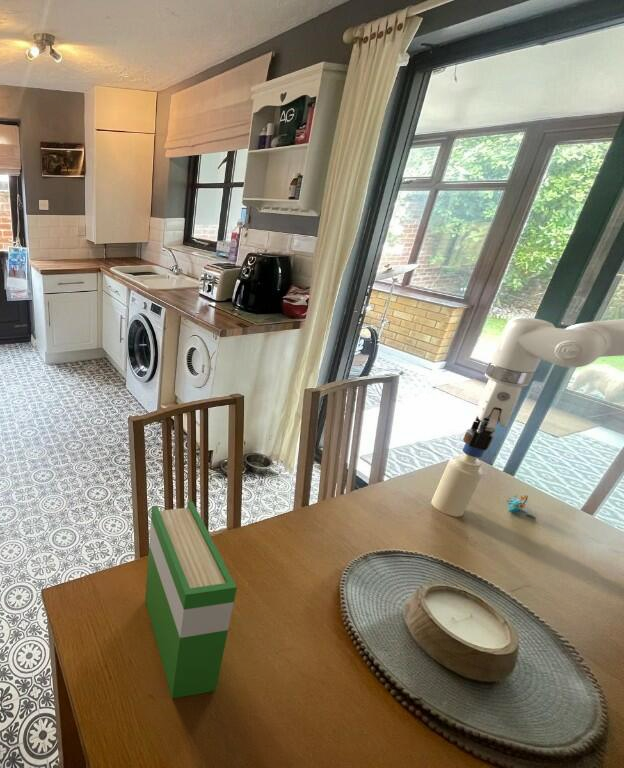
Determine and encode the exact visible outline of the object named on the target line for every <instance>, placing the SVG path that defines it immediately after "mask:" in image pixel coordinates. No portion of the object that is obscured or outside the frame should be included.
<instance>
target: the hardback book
mask: <svg viewBox="0 0 624 768" xmlns="http://www.w3.org/2000/svg"><path fill="white" fill-rule="evenodd" d="M147 555H148V557H147V570H146V583H145V597H144V602H145V606H146V609H147V612H148V616H149V620H150V623H151V628H152V630H153V635H154V638H155V642H156V645H157V649H158V652H159V656H160V660H161V664H162V667H163V671H164V674H165V679H166V682H167V686H168V690H169V693H170V696H171V699H172V700H173V699H179V698H184V697H188V696H194V695H200V694H205V693H209V692H215V691H216V690H217V686H218V683H219V682H218V681H219V676H220V671H221V666H222V663H223V656H224V652H225V648H226V643H227V638H228V633H229V629H230V628H229V627H230V624H231V618H232V614H233V609H234V604H235V599H236V594H237V589H238V586H237V584H236V582H235V581H234V578H233V577H232V575H231V572H229V569H228V567H227V565H226V564H225V561H224V559H223V557H222V555H221V553H220V551H219V549H218V548H217V545H216V543H215V542H214V539H213V538H212V536H211V534H210V532H209V530H208V529H207V526H206V524H205V522H204V521H203V518H202V517H201V515H200V513H199V511H198V509H197V507H196V505H195V503H194V501H187V503H186V507H181V508H171V509H162V510H160V509H159V506H158V505H152V506H151V515H150V529H149V542H148V554H147Z"/></svg>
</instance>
